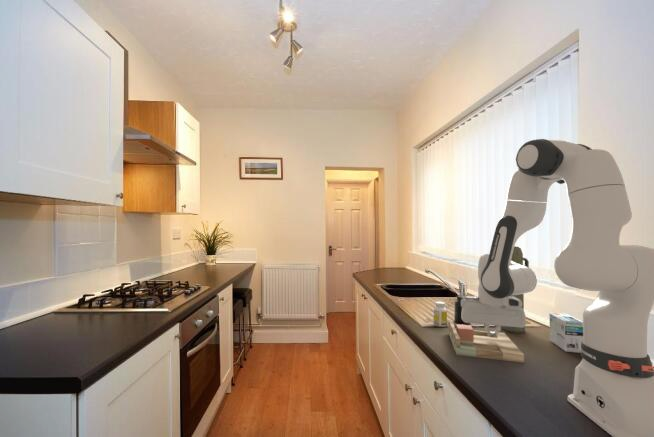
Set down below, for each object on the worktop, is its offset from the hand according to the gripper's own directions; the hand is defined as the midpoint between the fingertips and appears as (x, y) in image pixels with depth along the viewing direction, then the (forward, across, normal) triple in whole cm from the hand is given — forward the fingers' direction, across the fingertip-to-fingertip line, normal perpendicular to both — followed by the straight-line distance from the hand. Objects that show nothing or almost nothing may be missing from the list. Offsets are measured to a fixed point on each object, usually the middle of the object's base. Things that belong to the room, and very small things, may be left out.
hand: (492, 337), depth 105 cm
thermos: (+4, +14, +24) cm, 28 cm away
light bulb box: (+4, +27, +9) cm, 29 cm away
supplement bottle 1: (+4, -15, +21) cm, 26 cm away
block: (+1, -9, 0) cm, 9 cm away
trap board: (+4, -3, 0) cm, 5 cm away
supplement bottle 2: (+4, -5, +27) cm, 28 cm away
